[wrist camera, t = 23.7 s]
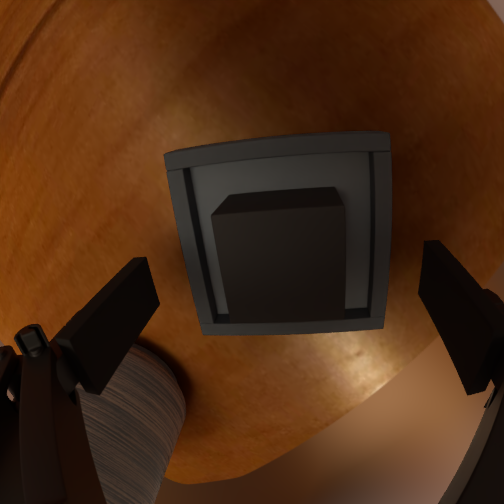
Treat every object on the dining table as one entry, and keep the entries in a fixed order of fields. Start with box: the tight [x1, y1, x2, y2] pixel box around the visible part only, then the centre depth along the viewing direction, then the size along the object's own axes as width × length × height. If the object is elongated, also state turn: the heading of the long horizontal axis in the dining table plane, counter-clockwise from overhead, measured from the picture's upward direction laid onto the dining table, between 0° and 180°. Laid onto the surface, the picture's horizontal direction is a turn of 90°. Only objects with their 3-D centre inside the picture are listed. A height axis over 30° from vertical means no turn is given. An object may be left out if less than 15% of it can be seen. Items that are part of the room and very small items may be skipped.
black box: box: [211, 186, 346, 324], centre depth 16 cm, size 6×6×4 cm
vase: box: [75, 343, 186, 504], centre depth 16 cm, size 12×12×23 cm
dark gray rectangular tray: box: [164, 131, 392, 335], centre depth 18 cm, size 12×12×2 cm
